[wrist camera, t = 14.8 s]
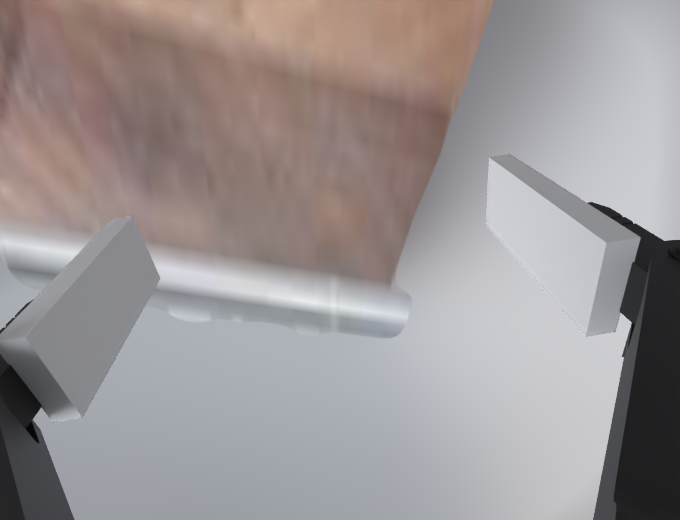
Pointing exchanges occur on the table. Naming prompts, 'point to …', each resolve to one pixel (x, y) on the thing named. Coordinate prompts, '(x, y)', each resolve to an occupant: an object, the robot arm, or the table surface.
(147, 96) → the table surface
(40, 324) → the robot arm
